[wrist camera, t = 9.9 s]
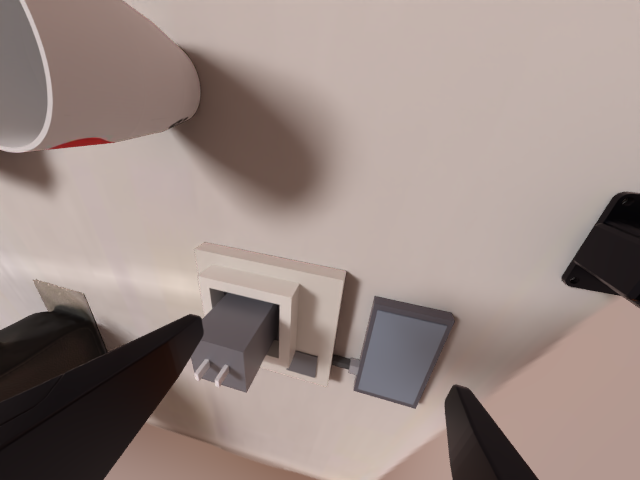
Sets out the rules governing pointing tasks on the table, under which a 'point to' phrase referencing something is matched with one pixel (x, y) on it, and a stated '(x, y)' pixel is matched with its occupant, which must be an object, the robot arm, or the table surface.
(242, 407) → the table surface
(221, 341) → the charger block
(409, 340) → the phone
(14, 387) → the shoulder bag
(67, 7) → the cup
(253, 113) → the table surface
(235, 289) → the outlet plate
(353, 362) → the black and grey bar
